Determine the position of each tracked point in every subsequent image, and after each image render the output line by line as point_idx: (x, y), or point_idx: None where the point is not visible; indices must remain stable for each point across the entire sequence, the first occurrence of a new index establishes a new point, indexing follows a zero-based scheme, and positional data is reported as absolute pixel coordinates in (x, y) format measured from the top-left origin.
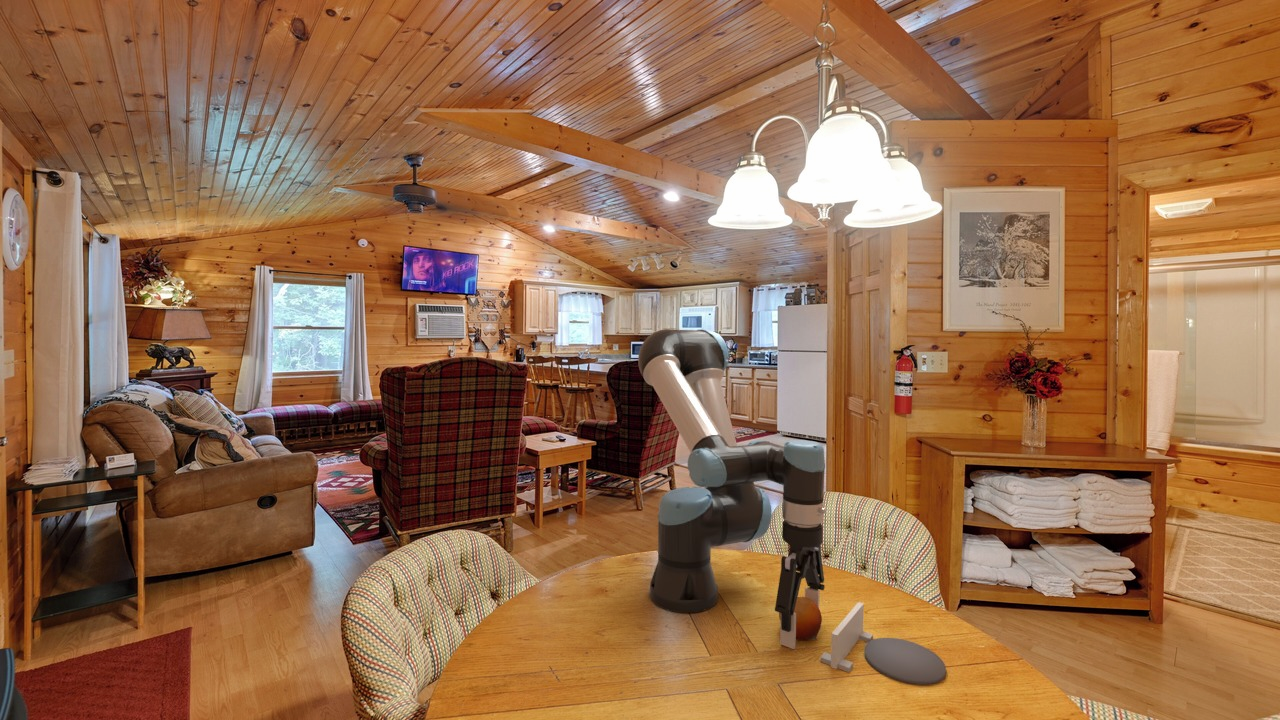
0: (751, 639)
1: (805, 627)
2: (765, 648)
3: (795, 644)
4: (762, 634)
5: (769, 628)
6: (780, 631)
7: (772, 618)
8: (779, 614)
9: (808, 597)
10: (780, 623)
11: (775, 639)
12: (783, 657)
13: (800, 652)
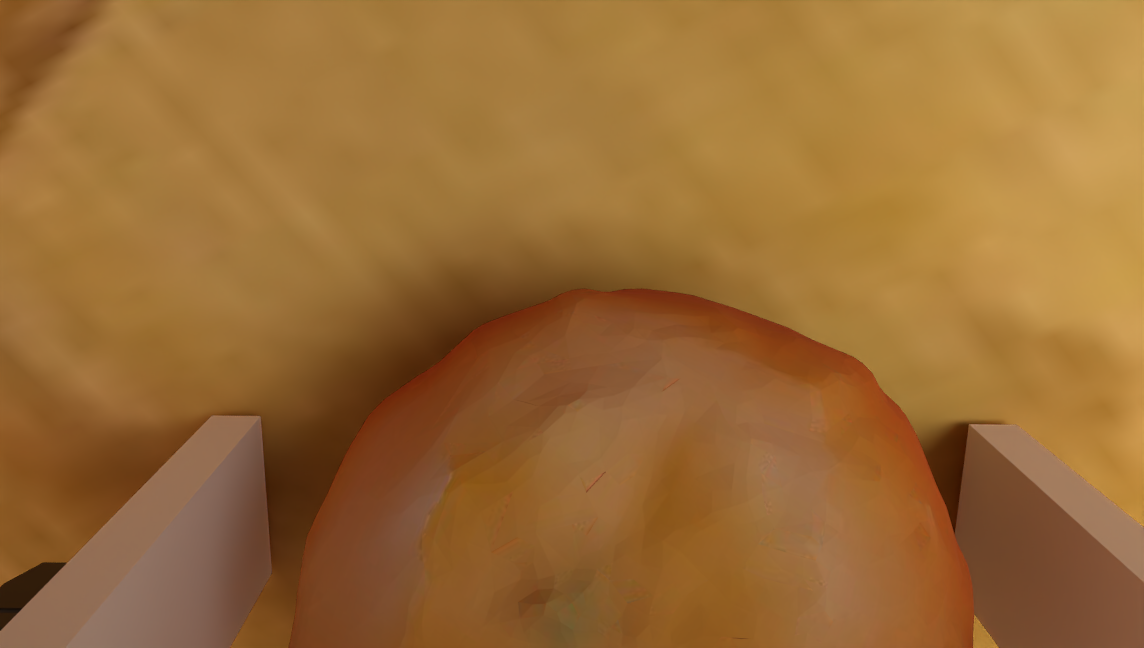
0: (74, 76)
1: None
2: (29, 307)
3: (260, 591)
4: (287, 137)
5: (489, 145)
6: (145, 484)
7: (770, 62)
8: (477, 343)
9: (1137, 641)
10: (94, 535)
11: (297, 317)
12: (25, 532)
13: (250, 628)
